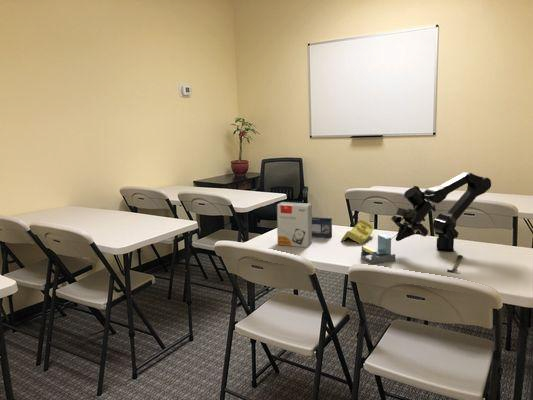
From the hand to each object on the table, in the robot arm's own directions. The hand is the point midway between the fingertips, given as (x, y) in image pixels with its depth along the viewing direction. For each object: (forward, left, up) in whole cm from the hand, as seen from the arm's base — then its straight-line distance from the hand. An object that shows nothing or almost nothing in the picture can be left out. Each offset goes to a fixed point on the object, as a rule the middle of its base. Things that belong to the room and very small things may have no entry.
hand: (396, 240), depth 174 cm
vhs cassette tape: (+42, -21, -7) cm, 48 cm away
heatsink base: (+7, +6, -7) cm, 11 cm away
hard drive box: (+47, -5, -7) cm, 48 cm away
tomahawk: (-25, +3, -8) cm, 26 cm away
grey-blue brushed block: (+6, +5, -5) cm, 9 cm away
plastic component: (+20, -25, -8) cm, 32 cm away
